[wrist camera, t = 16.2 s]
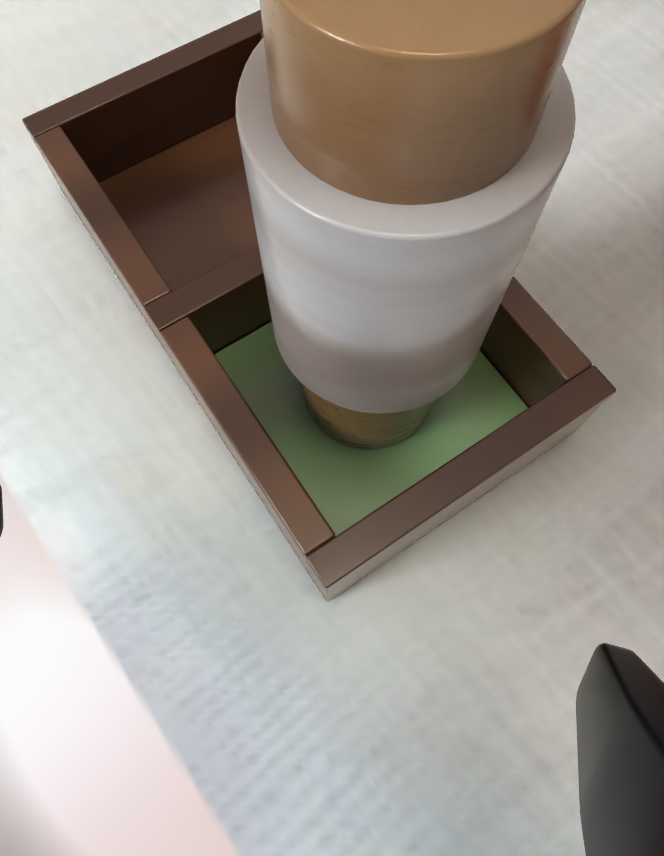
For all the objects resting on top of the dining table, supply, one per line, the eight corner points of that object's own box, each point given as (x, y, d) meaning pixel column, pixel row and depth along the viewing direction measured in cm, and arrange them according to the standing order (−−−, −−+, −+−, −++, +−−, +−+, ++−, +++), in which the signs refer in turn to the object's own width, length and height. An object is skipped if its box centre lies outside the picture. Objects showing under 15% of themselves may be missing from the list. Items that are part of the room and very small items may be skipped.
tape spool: (432, 487, 20) (621, 140, 7) (263, 441, 20) (137, 39, 7) (468, 336, 22) (669, -163, 9) (312, 298, 22) (282, -224, 9)
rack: (574, 432, 21) (618, 389, 18) (327, 602, 19) (326, 589, 16) (276, 85, 27) (268, 5, 24) (61, 190, 25) (20, 118, 22)
